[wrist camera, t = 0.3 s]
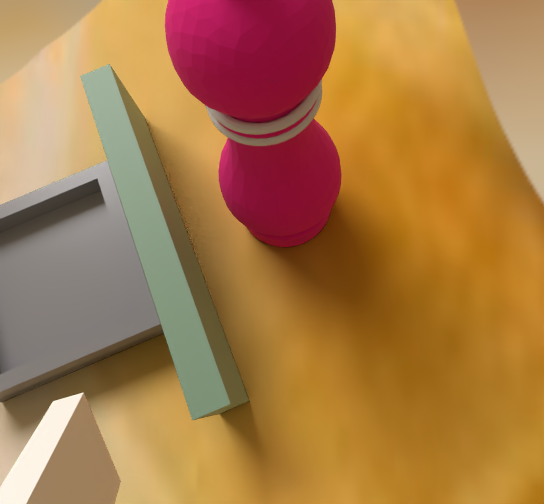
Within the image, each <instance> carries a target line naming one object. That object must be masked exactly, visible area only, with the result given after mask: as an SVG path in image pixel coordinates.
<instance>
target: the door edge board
mask: <svg viewBox="0 0 544 504" xmlns="http://www.w3.org/2000/svg"><path fill="white" fill-rule="evenodd" d="M80 77H81V80H82V83H83V86H84V89H85V92H86V95H87V99H88V102H89V105H90V108H91V111H92V114H93V117H94V120H95V123H96V126H97V129H98V132H99V135H100V138H101V141H102V145H103V148H104V151H105V154H106V157H107V160H108V163H109V166H110V169H111V172H112V175H113V178H114V181H115V184H116V187H117V191H118V194H119V197H120V200H121V203H122V206H123V209H124V212H125V215H126V218H127V221H128V224H129V227H130V230H131V233H132V237H133V240H134V243H135V246H136V249H137V252H138V255H139V258H140V261H141V264H142V267H143V270H144V273H145V276H146V279H147V283H148V286H149V289H150V292H151V295H152V298H153V301H154V304H155V307H156V310H157V313H158V316H159V319H160V322H161V325H162V329H163V332H164V335H165V338H166V341H167V344H168V347H169V350H170V353H171V356H172V359H173V362H174V365H175V368H176V371H177V375H178V378H179V381H180V384H181V387H182V390H183V393H184V396H185V399H186V402H187V405H188V408H189V411H190V414H191V417H192V420H196V419H200V418H204V417H208V416H213V415H217V414H220V413H223V412H225V411H227V410H230V409H232V408H234V407H237V406H239V405H241V404H244V403H246V402H248V401H249V398H248V396H247V393H246V390H245V388H244V385H243V382H242V379H241V377H240V374H239V371H238V369H237V366H236V363H235V361H234V358H233V355H232V352H231V350H230V347H229V344H228V342H227V339H226V336H225V333H224V331H223V328H222V325H221V323H220V320H219V317H218V315H217V312H216V309H215V306H214V304H213V301H212V298H211V296H210V293H209V290H208V287H207V285H206V282H205V279H204V277H203V274H202V271H201V268H200V266H199V263H198V260H197V258H196V255H195V252H194V250H193V247H192V244H191V241H190V239H189V236H188V233H187V231H186V228H185V225H184V222H183V220H182V217H181V214H180V212H179V209H178V206H177V204H176V201H175V198H174V195H173V193H172V190H171V187H170V185H169V182H168V179H167V176H166V174H165V171H164V168H163V166H162V163H161V160H160V158H159V155H158V152H157V149H156V147H155V144H154V141H153V139H152V136H151V133H150V130H149V128H148V125H147V122H146V120H145V117H144V116H143V114H142V113H141V111H140V110H139V108H138V107H137V105H136V104H135V102H134V101H133V99H132V97H131V96H130V94H129V93H128V91H127V90H126V88H125V87H124V85H123V84H122V82H121V81H120V79H119V78H118V76H117V75H116V73H115V72H114V70H113V69H112V67H111V65H110V64H108V65H106V66H103V67H101V68H99V69H96V70H94V71H91V72H89V73H87V74H84V75H82V76H80Z"/></svg>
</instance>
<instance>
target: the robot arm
mask: <svg viewBox="0 0 544 504" xmlns="http://www.w3.org/2000/svg"><path fill="white" fill-rule="evenodd" d="M120 482H121V481H120V478H119V476H118V474H117V471H116V469H115V466H114V464H113V462H112V459H111V457H110V454H109V452H108V450H107V447H106V445H105V442H104V440H103V438H102V435H101V433H100V430H99V428H98V426H97V423H96V421H95V418H94V416H93V414H92V411H91V409H90V406H89V404H88V402H87V399H86V397H85V394H84V392H83V393H80V394H76V395H73V396H69V397H66V398H62V399H59V400H56V401H53V402H52V404H51V406H50V407H49V409H48V411H47V412H46V414H45V415H44V417H43V419H42V420H41V422H40V424H39V425H38V427H37V428H36V430H35V432H34V433H33V435H32V437H31V438H30V440H29V441H28V443H27V445H26V446H25V448H24V450H23V451H22V453H21V454H20V456H19V458H18V459H17V461H16V463H15V464H14V466H13V467H12V469H11V471H10V472H9V474H8V476H7V477H6V479H5V480H4V482H3V484H2V485H1V487H0V504H115V500H116V496H117V493H118V489H119V486H120Z"/></svg>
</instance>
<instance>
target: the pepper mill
mask: <svg viewBox="0 0 544 504" xmlns="http://www.w3.org/2000/svg"><path fill="white" fill-rule="evenodd" d="M165 32H166V41H167V46H168V52H169V54H170V57H171V60H172V63H173V66H174V68H175V70H176V72H177V74H178V75H179V77H180V79H181V81H182V82H183V84H184V86H185V87H186V88H187V89H188V90H189V92H190V93H191V94H192V95H193V96H195V97H196V98H197V99H198V100H200V101H201V102H202V103H203V104H205V106H206V108H207V111H208V114H209V116H210V118H211V120H212V122H213V124H214V125H215V126H216V127H217V129H218V130H219V131H220V132H221V133H223V134H224V135H225V136H227V137H228V139H227V142H226V144H225V146H224V148H223V150H222V153H221V158H220V164H219V183H220V188H221V192H222V195H223V198H224V200H225V202H226V205H227V207H228V208H229V210H230V211H231V213H232V214H233V215H234V216H235V217H236V219H238V220H239V221H240V222H241V223H242V224H244V225H245V226H246V227H247V229H248V230H249V231H250V232H251V233H252V234H253V235H254V236H255V237H256V238H257V239H259V240H260V241H262V242H264V243H267V244H269V245H273V246H277V247H291V246H296V245H300V244H303V243H305V242H307V241H309V240H310V239H312V238H314V237H315V236H316V235H317V234H318V233H319V232H320V231H321V230H322V229H323V227H324V226H325V225H326V223H327V221H328V219H329V216H330V212H331V208H332V206H333V205H334V203H335V201H336V199H337V196H338V194H339V190H340V186H341V167H340V159H339V155H338V152H337V149H336V147H335V145H334V143H333V141H332V139H331V137H330V136H329V134H328V133H327V131H326V130H325V129H324V128H323V127H322V126H321V125H320V124H319V123H318V122H317V121H316V120H315V119H314V117H315V115H316V113H317V111H318V109H319V106H320V103H321V99H322V77H323V76H324V74H325V72H326V71H327V69H328V67H329V64H330V61H331V57H332V54H333V51H334V47H335V38H336V22H335V10H334V6H333V3H332V0H168V4H167V9H166V14H165Z"/></svg>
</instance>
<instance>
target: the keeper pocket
mask: <svg viewBox="0 0 544 504" xmlns="http://www.w3.org/2000/svg"><path fill="white" fill-rule="evenodd" d="M163 333H164V332H163V329H162V325H161V322H160V319H159V316H158V313H157V310H156V307H155V304H154V301H153V298H152V295H151V292H150V289H149V286H148V283H147V279H146V276H145V273H144V270H143V267H142V264H141V261H140V258H139V255H138V252H137V249H136V246H135V243H134V240H133V237H132V233H131V230H130V227H129V224H128V221H127V218H126V215H125V212H124V209H123V206H122V203H121V200H120V197H119V194H118V191H117V187H116V184H115V181H114V178H113V175H112V172H111V169H110V166H109V163H108V161H104V162H102V163H100V164H97V165H95V166H92V167H90V168H88V169H85V170H83V171H80V172H78V173H76V174H73V175H71V176H69V177H66V178H64V179H61V180H59V181H57V182H54V183H52V184H49V185H47V186H45V187H42V188H40V189H37V190H35V191H33V192H30V193H28V194H25V195H23V196H21V197H18V198H16V199H13V200H11V201H9V202H6V203H4V204H2V205H0V402H3V401H6V400H8V399H10V398H13V397H15V396H17V395H20V394H22V393H24V392H27V391H29V390H31V389H34V388H36V387H39V386H41V385H43V384H46V383H48V382H50V381H53V380H55V379H57V378H60V377H62V376H64V375H67V374H69V373H71V372H74V371H76V370H79V369H81V368H83V367H86V366H88V365H90V364H93V363H95V362H97V361H100V360H102V359H104V358H107V357H109V356H112V355H114V354H116V353H119V352H121V351H123V350H126V349H128V348H130V347H133V346H135V345H137V344H140V343H142V342H145V341H147V340H149V339H152V338H154V337H156V336H159V335H161V334H163Z"/></svg>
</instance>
